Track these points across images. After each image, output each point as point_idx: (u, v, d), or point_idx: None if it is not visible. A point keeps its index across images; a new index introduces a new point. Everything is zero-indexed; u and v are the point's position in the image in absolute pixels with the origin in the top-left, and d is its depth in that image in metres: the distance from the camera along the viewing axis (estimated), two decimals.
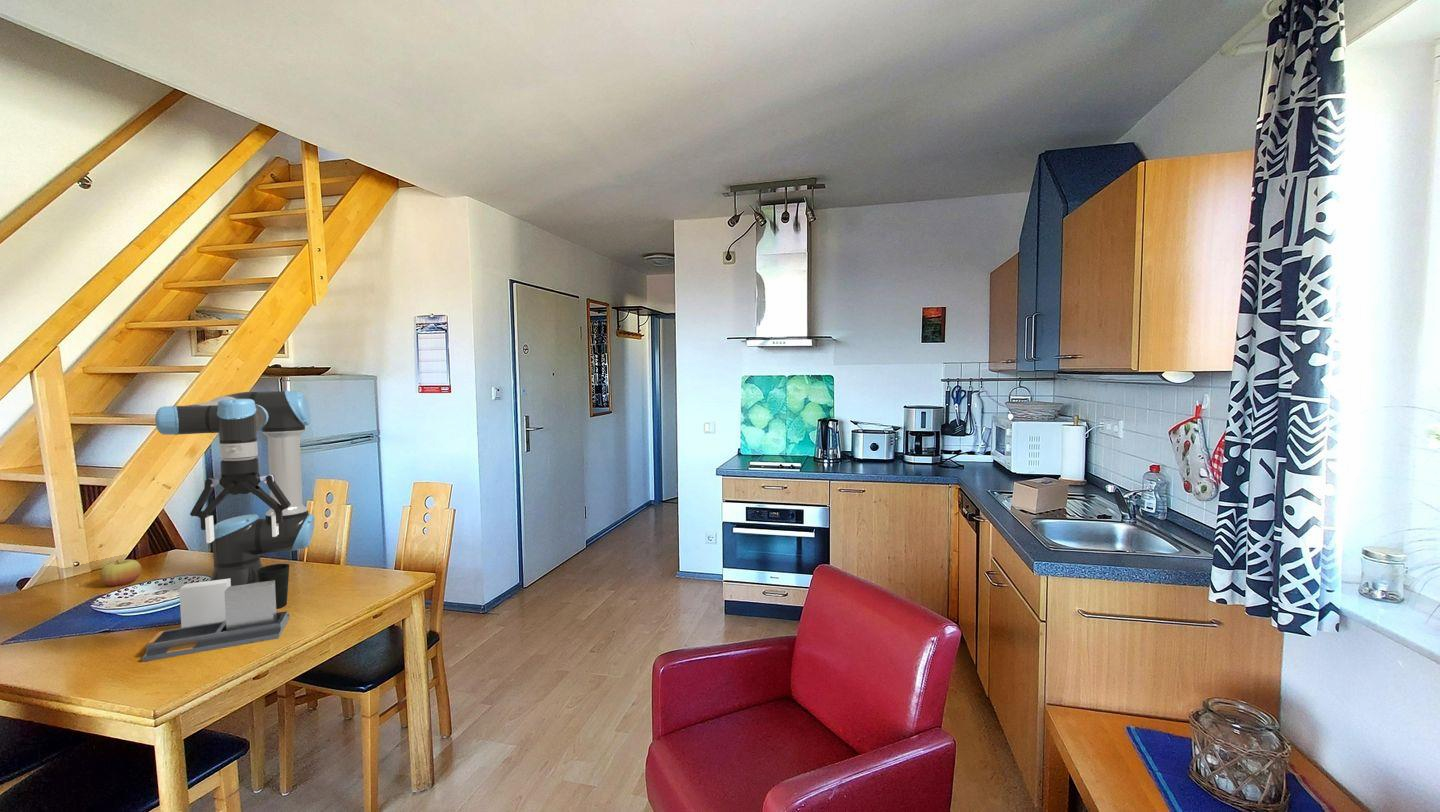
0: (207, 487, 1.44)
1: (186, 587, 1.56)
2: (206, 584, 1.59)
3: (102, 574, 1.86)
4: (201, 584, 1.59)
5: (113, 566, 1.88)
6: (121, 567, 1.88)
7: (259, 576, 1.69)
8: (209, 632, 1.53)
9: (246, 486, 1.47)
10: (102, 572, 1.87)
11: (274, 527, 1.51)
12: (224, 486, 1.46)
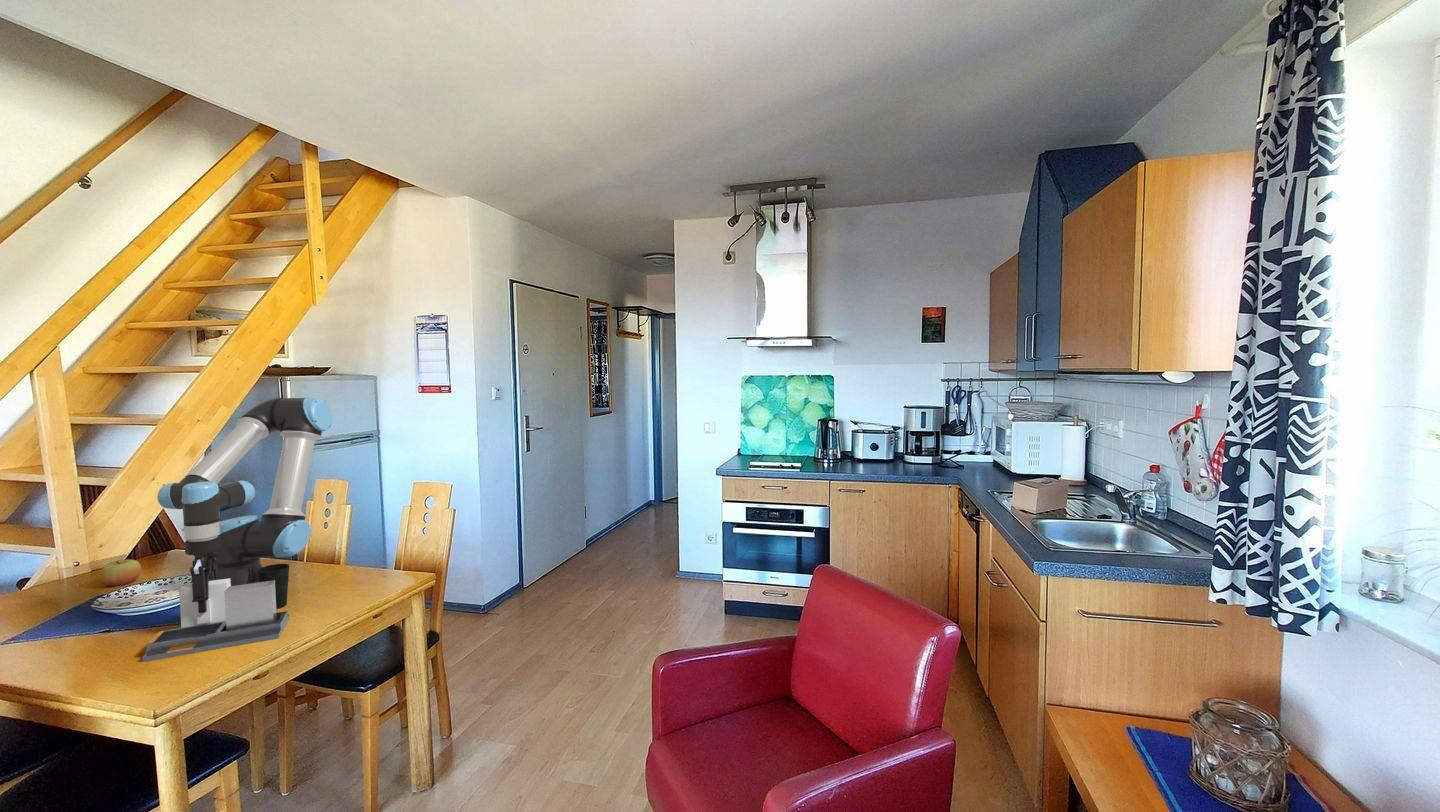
0: None
1: (186, 587, 1.56)
2: None
3: (102, 574, 1.86)
4: None
5: (113, 566, 1.88)
6: (121, 567, 1.88)
7: (259, 576, 1.69)
8: (209, 632, 1.53)
9: (193, 565, 1.57)
10: (102, 572, 1.87)
11: None
12: None
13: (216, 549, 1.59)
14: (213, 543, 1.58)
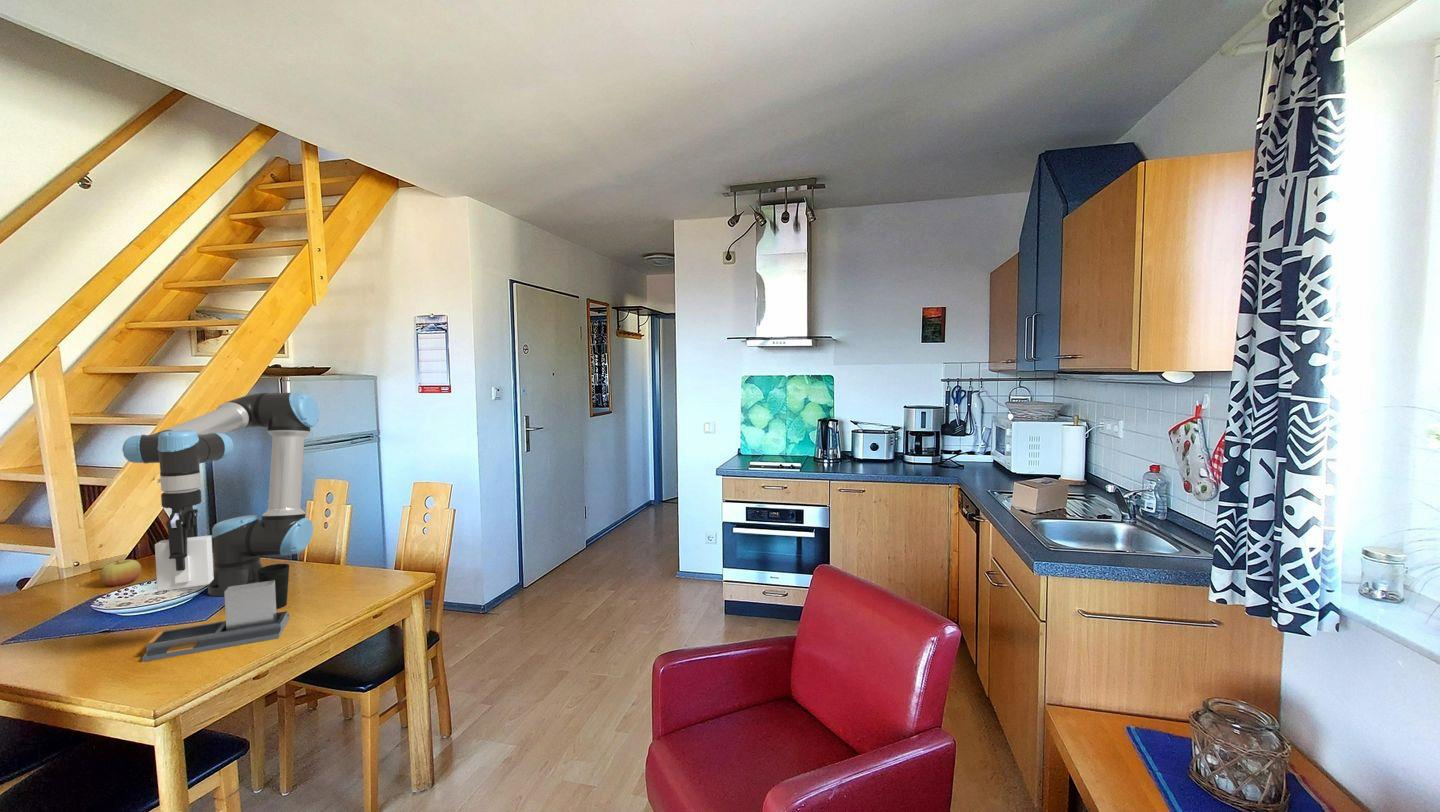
0: None
1: (162, 543, 1.44)
2: None
3: (102, 574, 1.86)
4: None
5: (113, 566, 1.88)
6: (121, 567, 1.88)
7: (259, 576, 1.69)
8: (209, 632, 1.53)
9: (170, 520, 1.45)
10: (102, 572, 1.87)
11: None
12: None
13: (195, 502, 1.47)
14: (192, 495, 1.46)
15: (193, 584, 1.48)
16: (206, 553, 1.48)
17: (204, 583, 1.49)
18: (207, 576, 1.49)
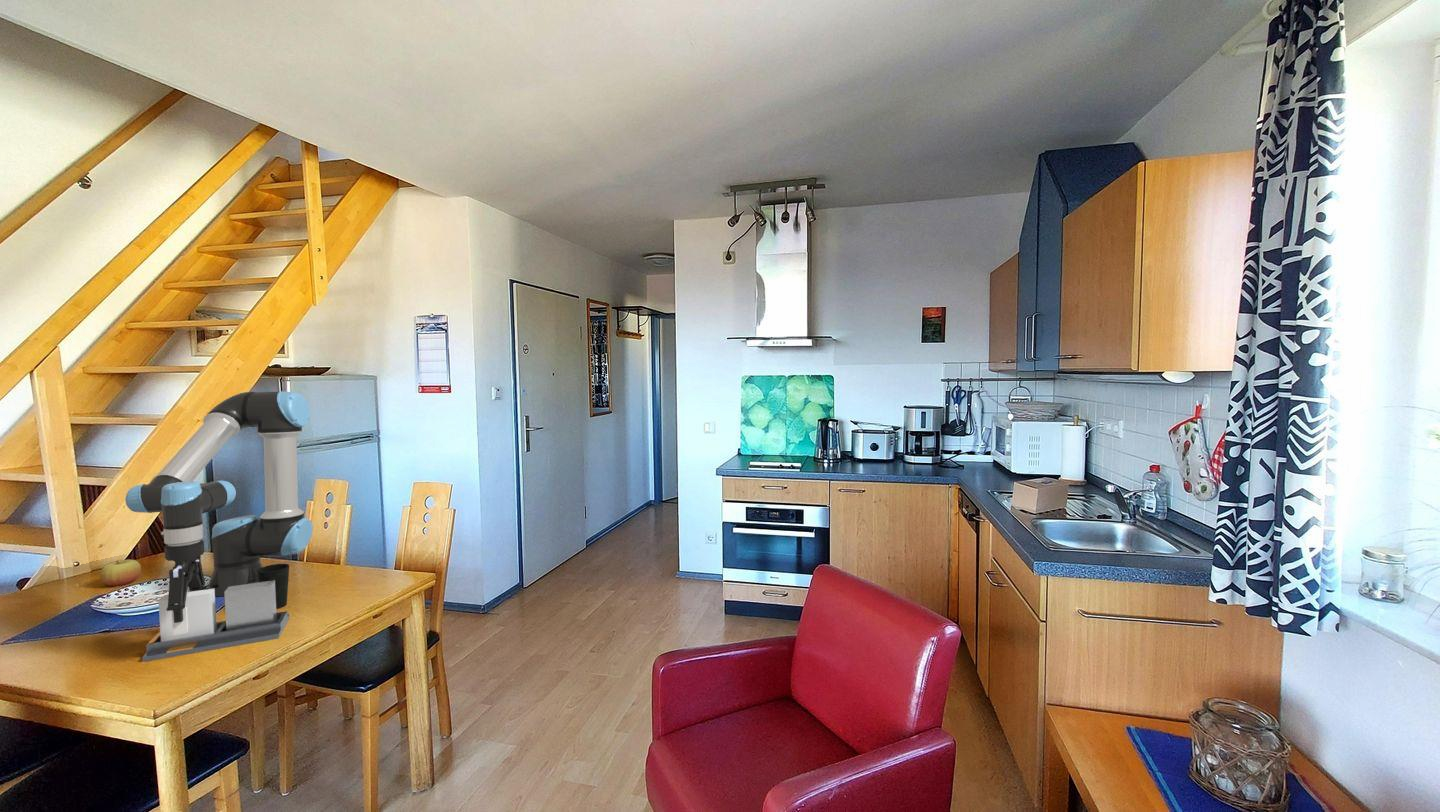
0: None
1: (166, 599, 1.45)
2: (188, 595, 1.48)
3: (102, 574, 1.86)
4: None
5: (113, 566, 1.88)
6: (121, 567, 1.88)
7: (259, 576, 1.69)
8: None
9: None
10: (102, 572, 1.87)
11: None
12: None
13: (198, 554, 1.48)
14: (195, 547, 1.47)
15: None
16: (209, 607, 1.49)
17: None
18: (210, 630, 1.50)
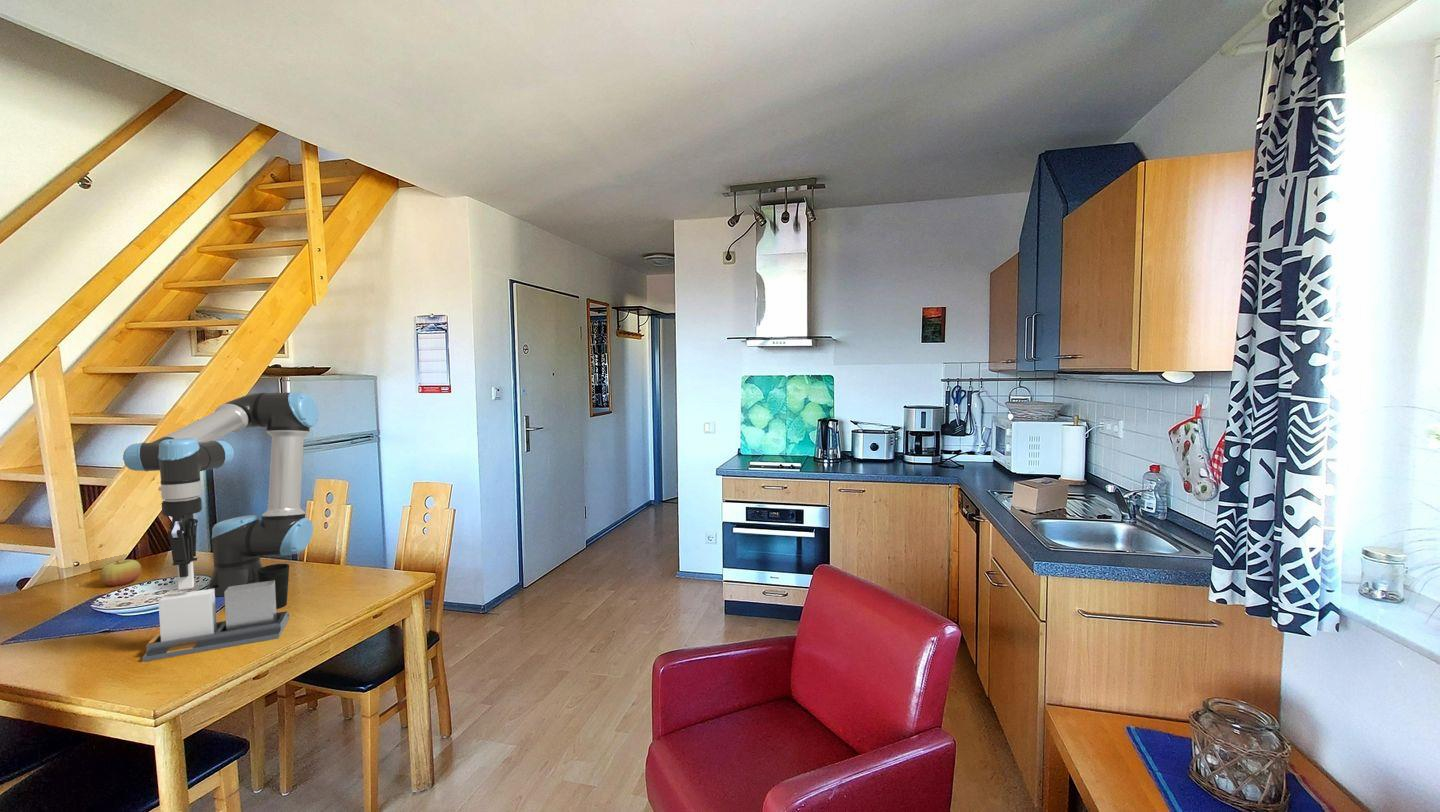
0: None
1: (166, 599, 1.45)
2: (188, 595, 1.48)
3: (102, 574, 1.86)
4: (183, 595, 1.48)
5: (113, 566, 1.88)
6: (121, 567, 1.88)
7: (259, 576, 1.69)
8: None
9: (171, 528, 1.45)
10: (102, 572, 1.87)
11: None
12: None
13: (196, 511, 1.47)
14: (193, 503, 1.46)
15: None
16: (209, 607, 1.49)
17: None
18: (210, 630, 1.50)
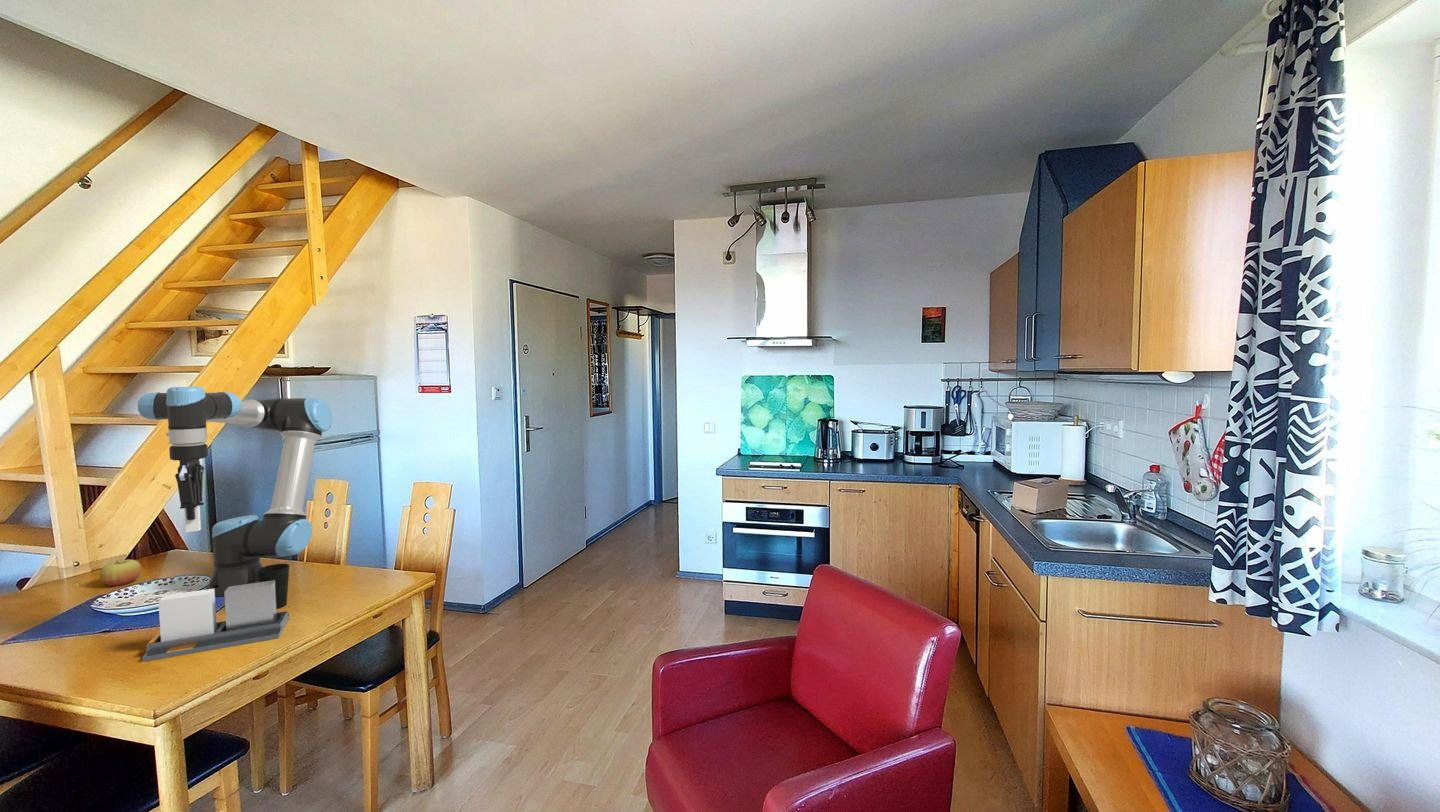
0: None
1: (166, 599, 1.45)
2: (188, 595, 1.48)
3: (102, 574, 1.86)
4: (183, 595, 1.48)
5: (113, 566, 1.88)
6: (121, 567, 1.88)
7: (259, 576, 1.69)
8: None
9: (178, 472, 1.51)
10: (102, 572, 1.87)
11: None
12: None
13: (202, 456, 1.53)
14: (199, 449, 1.52)
15: None
16: (209, 607, 1.49)
17: None
18: (210, 630, 1.50)
